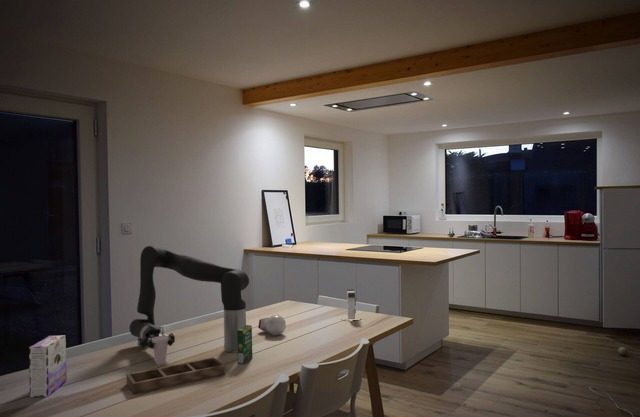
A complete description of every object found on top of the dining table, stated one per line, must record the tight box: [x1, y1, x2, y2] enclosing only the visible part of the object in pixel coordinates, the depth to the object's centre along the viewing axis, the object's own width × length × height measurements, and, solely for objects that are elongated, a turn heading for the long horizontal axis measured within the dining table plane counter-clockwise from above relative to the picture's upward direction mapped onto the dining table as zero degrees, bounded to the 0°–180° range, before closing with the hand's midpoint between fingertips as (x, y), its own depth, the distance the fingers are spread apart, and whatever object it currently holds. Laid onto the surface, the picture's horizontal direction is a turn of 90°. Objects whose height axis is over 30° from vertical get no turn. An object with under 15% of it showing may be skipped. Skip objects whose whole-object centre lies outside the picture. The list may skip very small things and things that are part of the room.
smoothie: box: [152, 326, 169, 366], centre depth 184 cm, size 6×6×14 cm
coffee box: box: [237, 324, 253, 365], centre depth 184 cm, size 8×3×13 cm, turn 162°
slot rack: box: [125, 357, 226, 396], centre depth 165 cm, size 31×11×4 cm, turn 123°
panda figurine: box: [346, 288, 357, 319], centre depth 252 cm, size 12×11×15 cm
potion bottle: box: [257, 314, 287, 336], centre depth 224 cm, size 9×10×15 cm
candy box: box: [28, 334, 68, 398], centre depth 158 cm, size 14×6×16 cm, turn 5°
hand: (161, 344), depth 182 cm, fingers closed on smoothie, 6 cm apart
